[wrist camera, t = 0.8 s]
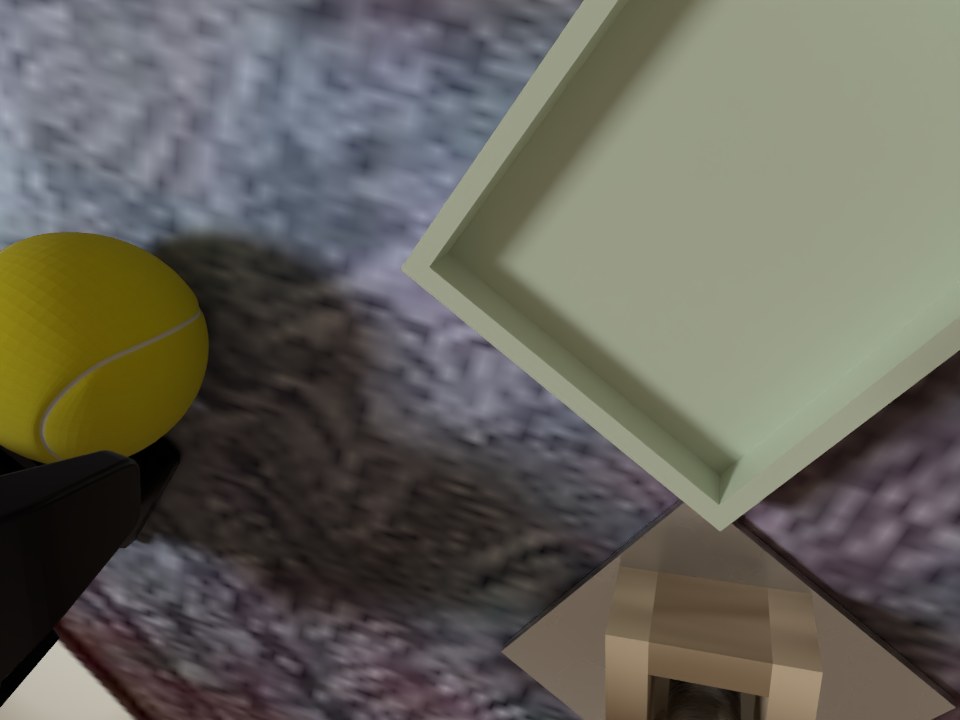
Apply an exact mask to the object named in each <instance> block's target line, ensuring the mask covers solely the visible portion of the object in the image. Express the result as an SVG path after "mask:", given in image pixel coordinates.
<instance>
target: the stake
mask: <svg viewBox="0 0 960 720" xmlns="http://www.w3.org/2000/svg"><path fill="white" fill-rule="evenodd" d="M619 567H627V568H634V569H641V570H648V571H655V572H662V573H669V574H675V575H682V576H689V577H696V578H703V579H710V580H717V581H724V582H731V583H738V584H745V585H751V586H758V587H765V588H772V589H779V590H786V591H793V592H800V593H807V594H811V596H812V603H813V610H814V617H815V623H816V630H817V637H818V644H819V650H820V657H821V664H822V671H823V675H822V681H821V688H820V694H819V701H818V707H817V713H816V720H931V719H933V718H936V717H938V716H940V715H942V714H944V713H946V712H948V711H950V710H952V709H954V708H956V706H955V703H954V700H953V698H952V696H951V695H949V694H948V693H947V692H946V691H945V690H943V689H942V688H941V687H940V686H938V685H937V684H936V683H935V682H934V681H932V680H931V679H930V678H929V677H927V676H926V675H925V674H924V673H923V672H921V671H920V670H919V669H918V668H917V667H915V666H914V665H913V664H912V663H910V662H909V661H908V660H907V659H906V658H904V657H903V656H902V655H901V654H899V653H898V652H897V651H896V650H895V649H893V648H892V647H891V646H890V645H889V644H887V643H886V642H885V641H884V640H882V639H881V638H880V637H879V636H878V635H876V634H875V633H874V632H873V631H871V630H870V629H869V628H868V627H867V626H865V625H864V624H863V623H862V622H861V621H859V620H858V619H857V618H856V617H854V616H853V615H852V614H851V613H850V612H848V611H847V610H846V609H845V608H843V607H842V606H841V605H840V604H839V603H837V602H836V601H835V600H834V599H833V598H831V597H830V596H829V595H828V594H826V593H825V592H824V591H823V590H822V589H820V588H819V587H818V586H817V585H815V584H814V583H813V582H812V581H811V580H809V579H808V578H807V577H806V576H804V575H803V574H802V573H801V572H800V571H798V570H797V569H796V568H795V567H794V566H792V565H791V564H790V563H789V562H787V561H786V560H785V559H784V558H783V557H781V556H780V555H779V554H778V553H776V552H775V551H774V550H773V549H772V548H770V547H769V546H768V545H767V544H766V543H764V542H763V541H762V540H761V539H759V538H758V537H757V536H756V535H755V534H753V533H752V532H751V531H750V530H748V529H747V528H746V527H745V526H744V525H742V524H741V523H740V522H739V521H738V520H735V521H734V522H732V523H731V524H730V525H728V526H727V527H726V528H724V529H723V530H722V531H719V530H717V529H716V528H715V527H714V526H713V525H711V524H710V523H709V522H708V521H706V520H705V519H704V518H703V517H702V516H700V515H699V514H698V513H697V512H695V511H694V510H693V509H692V508H691V507H689V506H688V505H687V504H686V503H685V502H683V501H682V500H681V499H680V500H678V501H677V502H676V503H675V504H673V505H672V506H671V507H670V508H669V509H667V510H666V511H665V512H664V513H662V514H661V515H660V516H659V517H658V518H656V519H655V520H654V521H653V522H652V523H650V524H649V525H648V526H647V527H645V528H644V529H643V530H642V531H641V532H639V533H638V534H637V535H636V536H634V537H633V538H632V539H631V540H630V541H628V542H627V543H626V544H625V545H624V546H622V547H621V548H620V549H619V550H617V551H616V552H615V553H614V554H613V555H611V556H610V557H609V558H608V559H607V560H605V561H604V562H603V563H602V564H600V565H599V566H598V567H597V568H596V569H594V570H593V571H592V572H591V573H589V574H588V575H587V576H586V577H585V578H583V579H582V580H581V581H580V582H579V583H577V584H576V585H575V586H574V587H572V588H571V589H570V590H569V591H568V592H566V593H565V594H564V595H563V596H561V597H560V598H559V599H558V600H557V601H555V602H554V603H553V604H552V605H551V606H549V607H548V608H547V609H546V610H544V611H543V612H542V613H541V614H540V615H538V616H537V617H536V618H535V619H533V620H532V621H531V622H530V623H529V624H527V625H526V626H525V627H524V628H523V629H521V630H520V631H519V632H518V633H516V634H515V635H514V636H513V637H512V638H510V639H509V640H508V641H507V642H506V643H504V645H503V648H502V650H501V652H502V653H503V654H504V655H506V656H507V657H508V658H509V659H510V660H512V661H513V662H514V663H515V664H517V665H518V666H519V667H520V668H521V669H523V670H524V671H525V672H526V673H528V674H529V675H530V676H531V677H533V678H534V679H535V680H536V681H537V682H539V683H540V684H541V685H542V686H544V687H545V688H546V689H547V690H548V691H550V692H551V693H552V694H553V695H555V696H556V697H557V698H558V699H560V700H561V701H562V702H563V703H564V704H566V705H567V706H568V707H569V708H571V709H572V710H573V711H574V712H575V713H577V714H578V715H579V716H580V717H582V718H583V719H584V720H606V700H605V633H606V628H607V624H608V619H609V614H610V609H611V605H612V600H613V595H614V590H615V586H616V581H617V576H618V571H619ZM755 700H756V695H754V694H748V693H743V692H738V691H733V690H727V689H722V688H717V687H712V686H706V685H701V684H696V683H690V682H685V681H680V680H675V679H669V678H664V677H659V676H655V685H654V716H653V720H753V718H754V709H755Z"/></svg>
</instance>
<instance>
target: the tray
mask: <svg viewBox="0 0 960 720" xmlns="http://www.w3.org/2000/svg"><path fill="white" fill-rule="evenodd" d="M401 270H402V271H403V272H404V273H405V274H407V275H408V276H409V277H410V278H412V279H413V280H414V281H415V282H416V283H418V284H419V285H420V286H421V287H423V288H424V289H425V290H426V291H427V292H429V293H430V294H431V295H432V296H433V297H435V298H436V299H437V300H438V301H440V302H441V303H442V304H443V305H444V306H446V307H447V308H448V309H449V310H451V311H452V312H453V313H454V314H455V315H457V316H458V317H459V318H460V319H462V320H463V321H464V322H465V323H466V324H468V325H469V326H470V327H471V328H472V329H474V330H475V331H476V332H477V333H479V334H480V335H481V336H482V337H483V338H485V339H486V340H487V341H488V342H490V343H491V344H492V345H493V346H494V347H496V348H497V349H498V350H499V351H501V352H502V353H503V354H504V355H505V356H507V357H508V358H509V359H510V360H511V361H513V362H514V363H515V364H516V365H518V366H519V367H520V368H521V369H522V370H524V371H525V372H526V373H527V374H529V375H530V376H531V377H532V378H533V379H535V380H536V381H537V382H538V383H540V384H541V385H542V386H543V387H544V388H546V389H547V390H548V391H549V392H550V393H552V394H553V395H554V396H555V397H557V398H558V399H559V400H560V401H561V402H563V403H564V404H565V405H566V406H568V407H569V408H570V409H571V410H572V411H574V412H575V413H576V414H577V415H579V416H580V417H581V418H582V419H583V420H585V421H586V422H587V423H588V424H589V425H591V426H592V427H593V428H594V429H596V430H597V431H598V432H599V433H600V434H602V435H603V436H604V437H605V438H607V439H608V440H609V441H610V442H611V443H613V444H614V445H615V446H616V447H617V448H619V449H620V450H621V451H622V452H624V453H625V454H626V455H627V456H628V457H630V458H631V459H632V460H633V461H635V462H636V463H637V464H638V465H639V466H641V467H642V468H643V469H644V470H646V471H647V472H648V473H649V474H650V475H652V476H653V477H654V478H655V479H656V480H658V481H659V482H660V483H661V484H663V485H664V486H665V487H666V488H667V489H669V490H670V491H671V492H672V493H674V494H675V495H676V496H677V497H678V498H680V499H681V500H682V501H683V502H685V503H686V504H687V505H688V506H689V507H691V508H692V509H693V510H694V511H695V512H697V513H698V514H699V515H700V516H702V517H703V518H704V519H705V520H706V521H708V522H709V523H710V524H711V525H713V526H714V527H715V528H716V529H717V530H719V531H722V530H723V529H724V528H726V527H727V526H728V525H730V524H731V523H732V522H734V521H735V520H736V519H738V518H739V517H740V516H741V515H743V514H744V513H745V512H747V511H748V510H749V509H751V508H752V507H753V506H755V505H756V504H757V503H759V502H760V501H761V500H763V499H764V498H765V497H767V496H768V495H769V494H770V493H772V492H773V491H774V490H776V489H777V488H778V487H780V486H781V485H782V484H784V483H785V482H786V481H788V480H789V479H790V478H792V477H793V476H794V475H796V474H797V473H798V472H799V471H801V470H802V469H803V468H805V467H806V466H807V465H809V464H810V463H811V462H813V461H814V460H815V459H817V458H818V457H819V456H821V455H822V454H823V453H825V452H826V451H827V450H828V449H830V448H831V447H832V446H834V445H835V444H836V443H838V442H839V441H840V440H842V439H843V438H844V437H846V436H847V435H848V434H850V433H851V432H852V431H854V430H855V429H856V428H858V427H859V426H860V425H861V424H863V423H864V422H865V421H867V420H868V419H869V418H871V417H872V416H873V415H875V414H876V413H877V412H879V411H880V410H881V409H883V408H884V407H885V406H887V405H888V404H889V403H890V402H892V401H893V400H894V399H896V398H897V397H898V396H900V395H901V394H902V393H904V392H905V391H906V390H908V389H909V388H910V387H912V386H913V385H914V384H916V383H917V382H918V381H919V380H921V379H922V378H923V377H925V376H926V375H927V374H929V373H930V372H931V371H933V370H934V369H935V368H937V367H938V366H939V365H941V364H942V363H943V362H945V361H946V360H947V359H948V358H950V357H951V356H952V355H954V354H955V353H956V352H958V351H959V350H960V0H584V1H583V2H582V4H581V5H580V7H579V8H578V10H577V11H576V13H575V14H574V16H573V17H572V18H571V20H570V21H569V23H568V24H567V26H566V27H565V29H564V30H563V32H562V33H561V35H560V36H559V38H558V39H557V40H556V42H555V43H554V45H553V46H552V48H551V49H550V51H549V52H548V54H547V55H546V57H545V58H544V60H543V61H542V62H541V64H540V65H539V67H538V68H537V70H536V71H535V73H534V74H533V76H532V77H531V79H530V80H529V81H528V83H527V84H526V86H525V87H524V89H523V90H522V92H521V93H520V95H519V96H518V98H517V99H516V101H515V102H514V103H513V105H512V106H511V108H510V109H509V111H508V112H507V114H506V115H505V117H504V118H503V120H502V121H501V122H500V124H499V125H498V127H497V128H496V130H495V131H494V133H493V134H492V136H491V137H490V139H489V140H488V142H487V143H486V144H485V146H484V147H483V149H482V150H481V152H480V153H479V155H478V156H477V158H476V159H475V161H474V162H473V164H472V165H471V166H470V168H469V169H468V171H467V172H466V174H465V175H464V177H463V178H462V180H461V181H460V183H459V184H458V185H457V187H456V188H455V190H454V191H453V193H452V194H451V196H450V197H449V199H448V200H447V202H446V203H445V205H444V206H443V207H442V209H441V210H440V212H439V213H438V215H437V216H436V218H435V219H434V221H433V222H432V224H431V225H430V226H429V228H428V229H427V231H426V232H425V234H424V235H423V237H422V238H421V240H420V241H419V243H418V244H417V246H416V247H415V248H414V250H413V251H412V253H411V254H410V256H409V257H408V259H407V260H406V262H405V263H404V265H403V266H402V268H401Z"/></svg>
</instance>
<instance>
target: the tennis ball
mask: <svg viewBox="0 0 960 720" xmlns="http://www.w3.org/2000/svg"><path fill="white" fill-rule="evenodd" d="M208 352H209V339H208V330H207V325H206V321H205V318H204V315H203V313H202V311H201V309H200V307H199V304H198V300H197V298H196V296H195V294H194V293H193V291H192V290H191V289H190V287H189V286H188V285H187V284H186V283H185V281H184V280H183V279H182V278H181V277H180V276H179V275H178V274H177V273H176V272H175V271H174V270H173V269H171V268H170V267H169V266H168V265H167V264H165V263H164V262H163V261H161V260H160V259H158V258H157V257H155V256H154V255H152V254H150V253H149V252H147V251H145V250H143V249H141V248H139V247H137V246H135V245H132V244H130V243H127V242H124V241H121V240H119V239H115V238H112V237H108V236H103V235H97V234H90V233H78V232H61V233H48V234H42V235H37V236H33V237H30V238H27V239H24V240H21V241H18V242H16V243H14V244H12V245H10V246H8V247H6V248H4V249H3V250H1V251H0V445H1V446H3V447H5V448H6V449H8V450H10V451H12V452H14V453H16V454H19V455H21V456H24V457H26V458H29V459H32V460H35V461H38V462H41V463H46V464H49V463H53V462H57V461H61V460H65V459H69V458H73V457H77V456H81V455H85V454H90V453H94V452H98V451H103V450H109V451H113V452H116V453H118V454H121V455H124V456H126V457H129V456H131V455H133V454H135V453H137V452H139V451H141V450H143V449H144V448H146V447H148V446H149V445H151V444H152V443H154V442H156V441H157V440H158V439H160V438H161V437H162V436H163V435H165V434H166V433H167V432H168V431H170V430H171V429H172V428H173V427H174V426H175V425H176V424H177V423H178V422H179V421H180V419H181V418H182V417H183V416H184V415H185V413H186V412H187V410H188V409H189V408H190V406H191V404H192V403H193V401H194V399H195V398H196V396H197V394H198V392H199V389H200V387H201V385H202V382H203V379H204V375H205V372H206V368H207V362H208Z"/></svg>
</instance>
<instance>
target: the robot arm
mask: <svg viewBox="0 0 960 720" xmlns="http://www.w3.org/2000/svg"><path fill="white" fill-rule="evenodd" d="M179 463H180V455H179V453H178V451H177V450H176V449H175V448H174V447H173V446H172V445H171V444H170V443H168V442H167V441H166V440H165V439H163V438H162V437H161V438H160V439H158V440H157V441H156V442H154V443H152V444H151V445H149V446H148V447H146V448H144V449H143V450H141V451H139V452H137V453H135V454H133V455H131V456H129V457H126V456H124V455H121V454H118V453H116V452H113V451H109V450H103V451H98V452H94V453H90V454H85V455H81V456H77V457H73V458H69V459H65V460H61V461H57V462H53V463H49V464H46V463H41V462H38V461H35V460H32V459H29V458H26V457H24V456H21V455H19V454H16V453H14V452H12V451H10V450H8V449H6V448H5V447H3V446H1V445H0V707H1V706H2V705H3V704H4V702H5V701H6V700H7V699H8V698H9V697H10V695H11V694H12V693H13V692H14V691H15V690H16V688H17V687H18V686H19V685H20V684H21V682H22V681H23V680H24V679H25V678H26V677H27V675H28V674H29V673H30V672H31V671H32V670H33V668H34V667H35V666H36V665H37V664H38V662H39V661H40V660H41V659H42V658H43V657H44V656H45V654H46V653H47V652H48V651H49V649H51V647H52V646H53V645H54V644H55V643H56V642H57V640H58V639H59V638H60V636H59V635H58V633H57V632H56V630H55V629H54V627H55V625H56V624H57V623H58V622H59V621H60V620H61V618H62V617H63V616H64V615H65V614H66V613H67V611H68V610H69V609H70V608H71V606H72V605H73V604H74V603H75V602H76V600H77V599H78V598H79V597H80V595H81V594H82V593H83V592H84V591H85V589H86V588H87V587H88V586H89V584H90V583H91V582H92V581H93V579H94V578H95V577H96V576H97V575H98V573H99V572H100V571H101V570H102V568H103V567H104V566H105V565H106V564H107V562H108V561H109V560H110V559H111V557H112V556H113V555H114V554H115V552H116V551H117V550H118V549H119V548H126V547H127V546H129V545H130V544H131V543H132V542H133V541H135V539H136V537H137V536H138V534H139V532H140V530H141V529H142V527H143V525H144V523H145V522H146V520H147V518H148V517H149V515H150V513H151V511H152V510H153V508H154V506H155V505H156V503H157V501H158V499H159V498H160V496H161V494H162V492H163V491H164V489H165V487H166V486H167V484H168V482H169V480H170V479H171V477H172V475H173V473H174V472H175V470H176V468H177V467H178V465H179Z"/></svg>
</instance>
